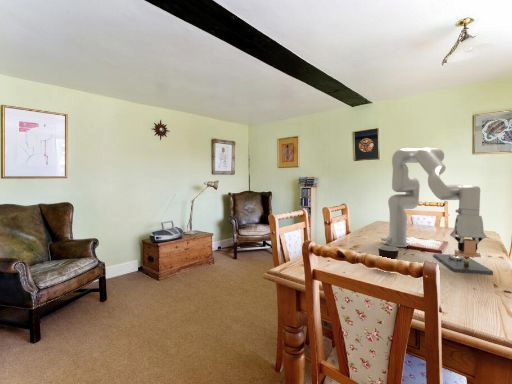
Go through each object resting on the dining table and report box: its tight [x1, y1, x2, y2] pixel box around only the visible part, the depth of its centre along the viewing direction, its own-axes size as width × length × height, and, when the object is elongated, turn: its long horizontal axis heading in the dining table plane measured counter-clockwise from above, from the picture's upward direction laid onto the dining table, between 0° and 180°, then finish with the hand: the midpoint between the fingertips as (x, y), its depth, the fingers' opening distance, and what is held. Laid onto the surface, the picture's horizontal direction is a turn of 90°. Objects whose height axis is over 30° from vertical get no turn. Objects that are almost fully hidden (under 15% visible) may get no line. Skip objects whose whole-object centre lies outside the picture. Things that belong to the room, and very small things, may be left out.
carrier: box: [432, 253, 494, 276], centre depth 131 cm, size 15×23×7 cm, turn 167°
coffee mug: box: [377, 245, 400, 260], centre depth 127 cm, size 12×9×10 cm
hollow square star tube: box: [454, 238, 482, 259], centre depth 125 cm, size 10×10×7 cm
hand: (467, 250), depth 125 cm, fingers closed on hollow square star tube, 4 cm apart
